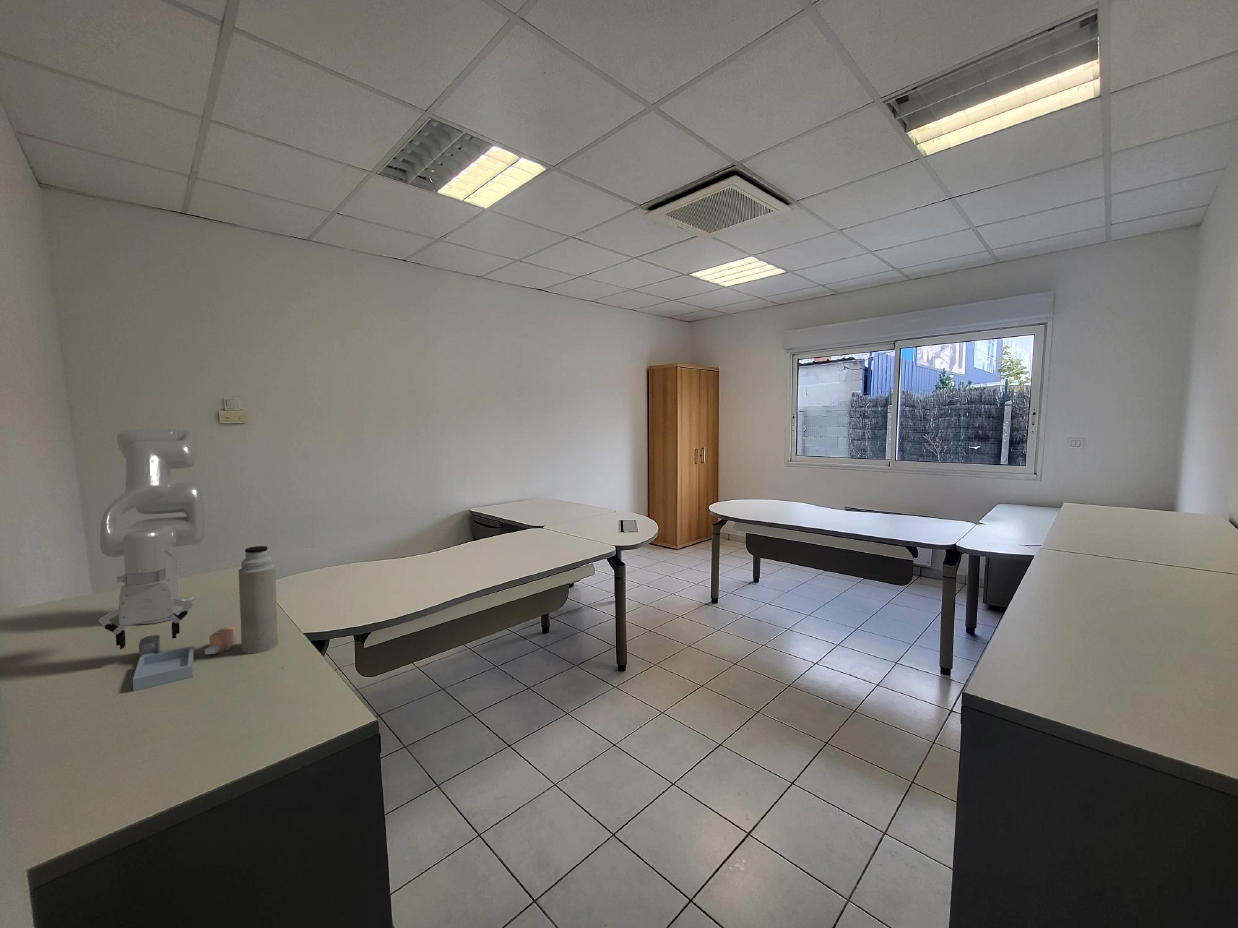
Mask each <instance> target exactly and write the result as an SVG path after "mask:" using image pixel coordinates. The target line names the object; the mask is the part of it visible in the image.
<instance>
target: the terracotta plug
mask: <svg viewBox="0 0 1238 928" xmlns="http://www.w3.org/2000/svg"><path fill="white" fill-rule="evenodd" d="M235 644H236V627H235V626H225V627H222V628H219V629H218V630H216V631H215V632H213V633H212V634H211V635H209V646H208V647H207V648H205V649H204V655H217V654H221V653H224V652H226V651H228V650H229V649H230V648H231V647H233V645H235Z"/></svg>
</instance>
